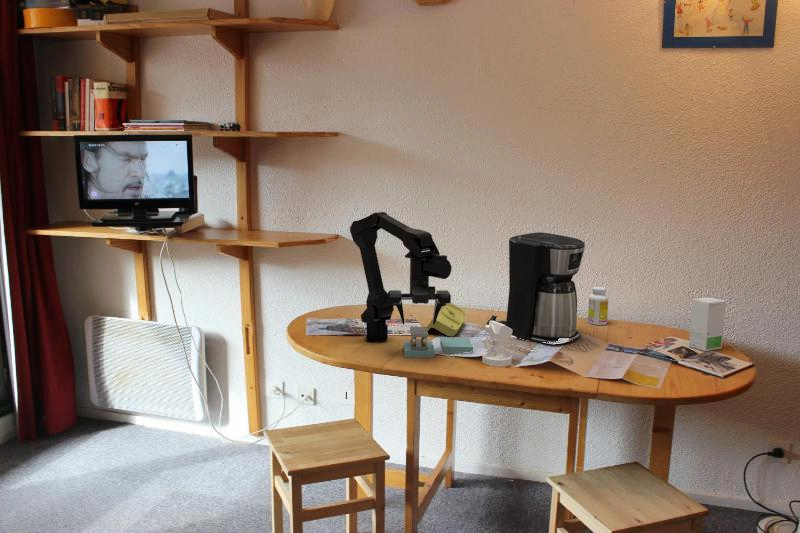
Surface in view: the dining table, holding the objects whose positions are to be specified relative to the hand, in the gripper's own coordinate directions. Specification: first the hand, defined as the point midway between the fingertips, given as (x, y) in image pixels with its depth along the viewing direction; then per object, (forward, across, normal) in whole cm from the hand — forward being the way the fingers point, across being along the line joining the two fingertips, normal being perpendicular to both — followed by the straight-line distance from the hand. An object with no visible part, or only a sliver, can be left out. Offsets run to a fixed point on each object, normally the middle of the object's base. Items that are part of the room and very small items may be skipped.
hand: (418, 324), depth 205 cm
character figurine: (+9, +23, -9) cm, 26 cm away
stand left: (+9, 0, 0) cm, 9 cm away
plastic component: (+9, +11, +26) cm, 30 cm away
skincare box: (+9, +91, +4) cm, 92 cm away
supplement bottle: (+9, +66, +33) cm, 74 cm away
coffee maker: (+9, +42, +22) cm, 48 cm away
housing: (+7, 0, 0) cm, 7 cm away
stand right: (+9, +12, +4) cm, 15 cm away
